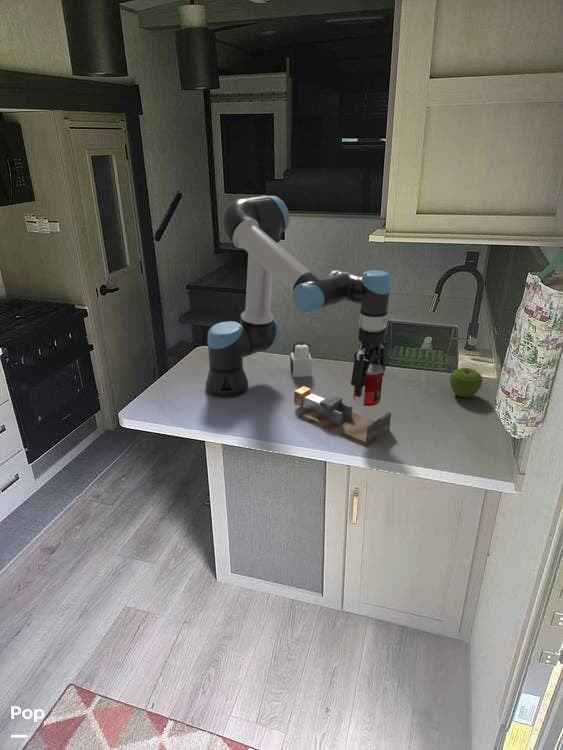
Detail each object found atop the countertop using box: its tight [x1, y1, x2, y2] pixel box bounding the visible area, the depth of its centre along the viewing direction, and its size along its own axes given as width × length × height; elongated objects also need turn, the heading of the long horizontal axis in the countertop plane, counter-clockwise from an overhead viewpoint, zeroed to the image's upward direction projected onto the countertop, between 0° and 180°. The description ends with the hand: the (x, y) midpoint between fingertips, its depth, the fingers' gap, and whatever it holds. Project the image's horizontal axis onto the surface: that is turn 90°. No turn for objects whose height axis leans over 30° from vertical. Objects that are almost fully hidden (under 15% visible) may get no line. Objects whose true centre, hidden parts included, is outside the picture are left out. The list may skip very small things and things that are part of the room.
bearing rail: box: [298, 394, 392, 447], centre depth 161 cm, size 26×12×7 cm, turn 50°
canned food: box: [353, 363, 384, 407], centre depth 151 cm, size 8×8×11 cm
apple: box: [449, 367, 483, 398], centre depth 178 cm, size 11×10×10 cm
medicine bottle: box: [289, 341, 313, 378], centre depth 193 cm, size 7×7×12 cm
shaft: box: [293, 385, 340, 412], centre depth 167 cm, size 15×5×5 cm, turn 50°
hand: (366, 399), depth 153 cm, fingers closed on canned food, 8 cm apart
